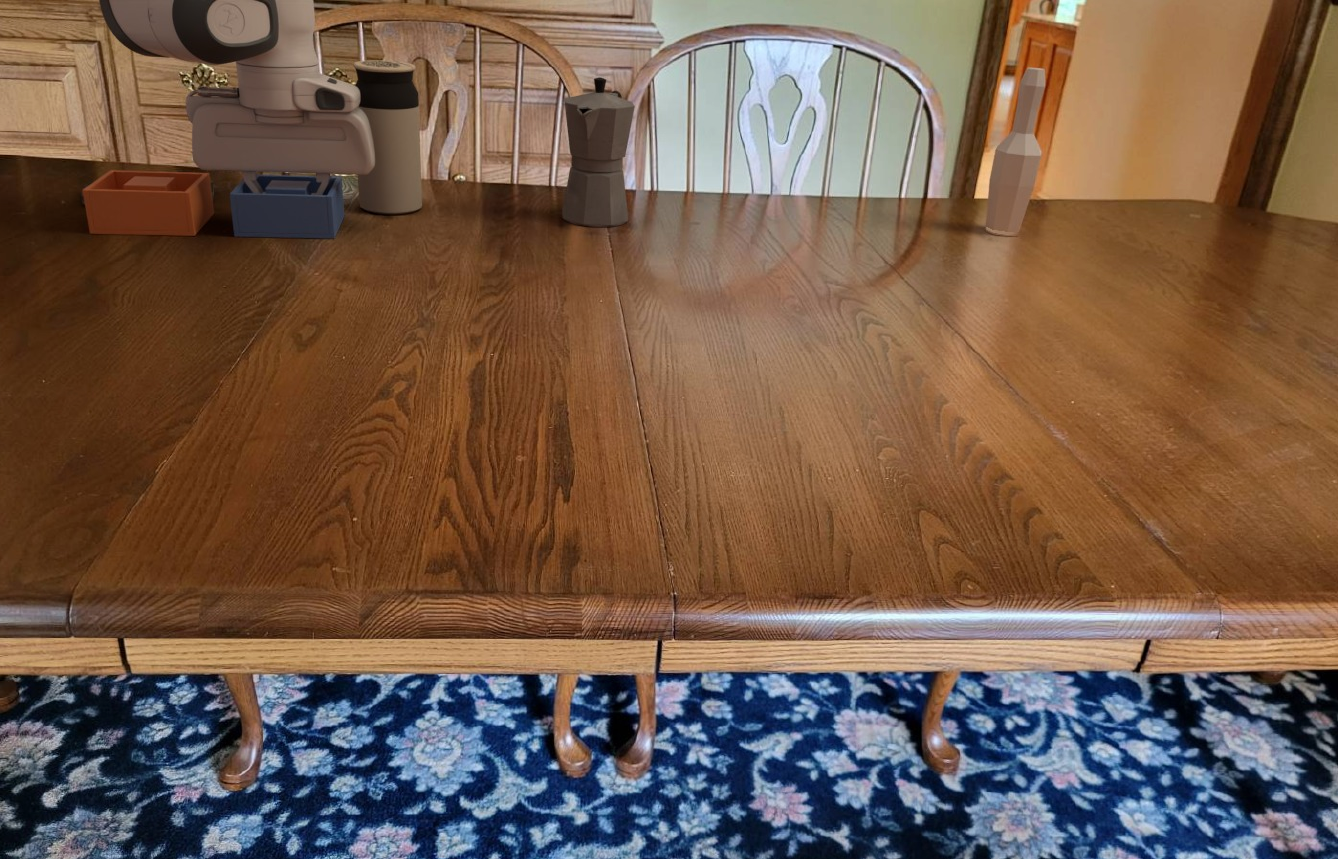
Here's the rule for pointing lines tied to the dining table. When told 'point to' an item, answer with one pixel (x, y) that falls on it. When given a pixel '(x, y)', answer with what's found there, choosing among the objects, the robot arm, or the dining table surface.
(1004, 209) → the low poly bottle
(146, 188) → the orange block
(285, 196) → the blue bin
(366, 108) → the travel mug
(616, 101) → the coffeepot
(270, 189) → the blue block
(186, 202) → the orange bin
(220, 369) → the dining table surface
